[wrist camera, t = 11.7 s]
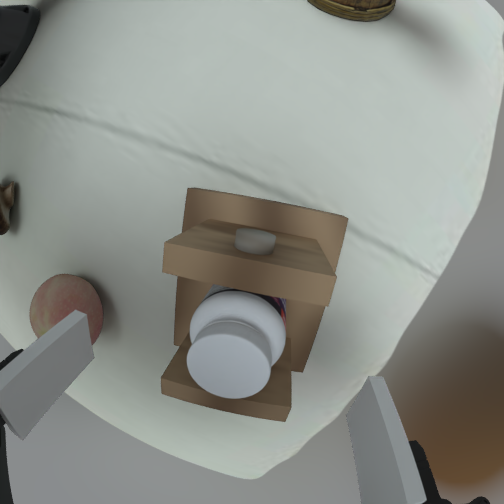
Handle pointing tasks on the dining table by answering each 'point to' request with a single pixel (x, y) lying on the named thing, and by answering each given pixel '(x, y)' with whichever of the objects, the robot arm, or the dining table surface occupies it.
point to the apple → (65, 304)
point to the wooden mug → (356, 8)
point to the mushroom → (5, 206)
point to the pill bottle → (235, 341)
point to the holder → (252, 282)
